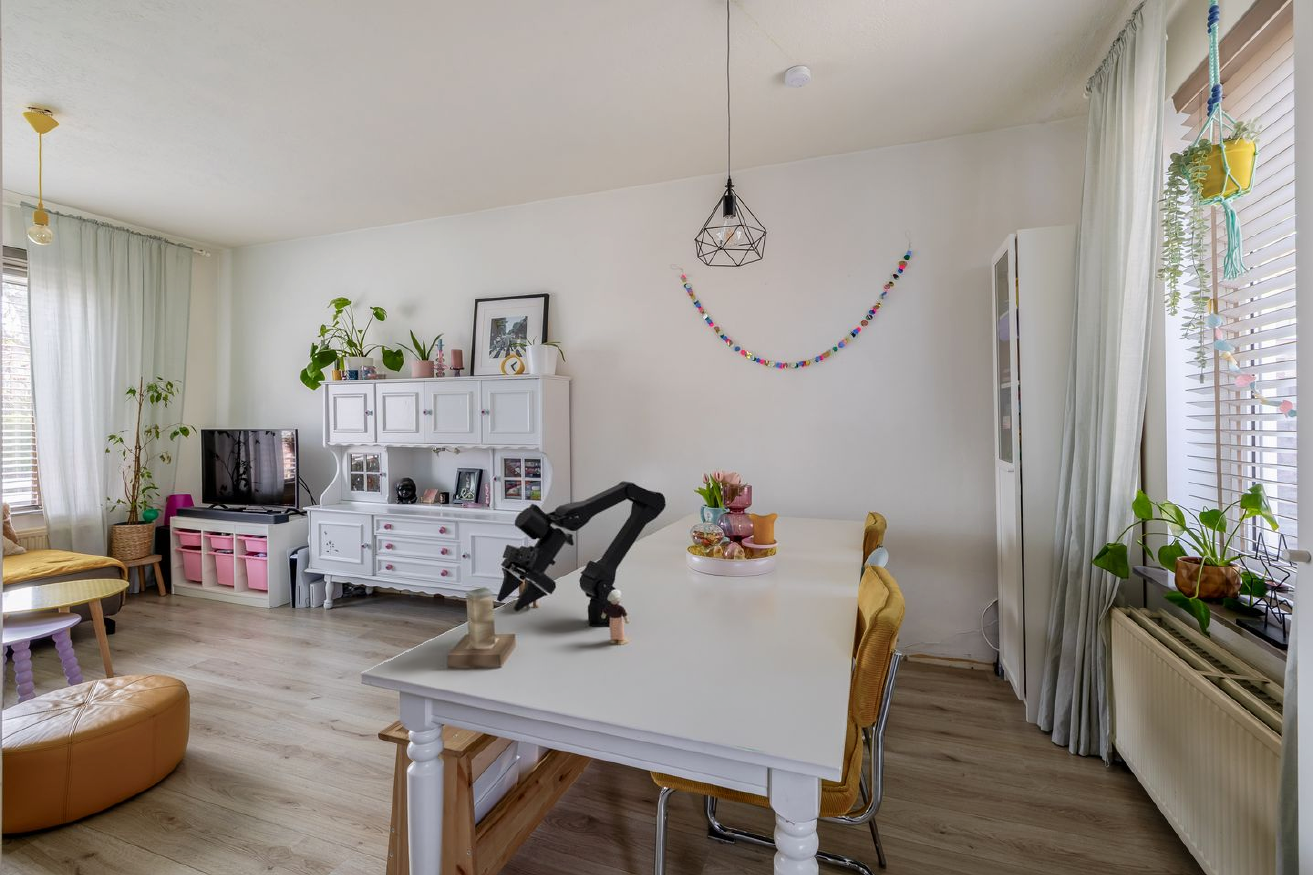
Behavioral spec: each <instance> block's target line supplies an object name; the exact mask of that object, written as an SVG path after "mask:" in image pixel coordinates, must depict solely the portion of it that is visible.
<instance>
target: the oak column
mask: <svg viewBox="0 0 1313 875" xmlns="http://www.w3.org/2000/svg"><path fill="white" fill-rule="evenodd" d="M493 596H494V592H493V591H492V590H490V589H489V588H487V587H482V588H481V587H480V588H475V589H471V590H468V591H465V600H466V611H467V613H466V614H467V615H466V616H467V629H468V630H467V631H468V632H467V633H468V634H469V643H470V644H471V645H472V646H474V647H475V648H476V649H478V648H481V647H485V646H489V645H492V644H495V634H496V632H495V631H496V630H495V613H494V599H493V598H494V597H493Z"/></svg>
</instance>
